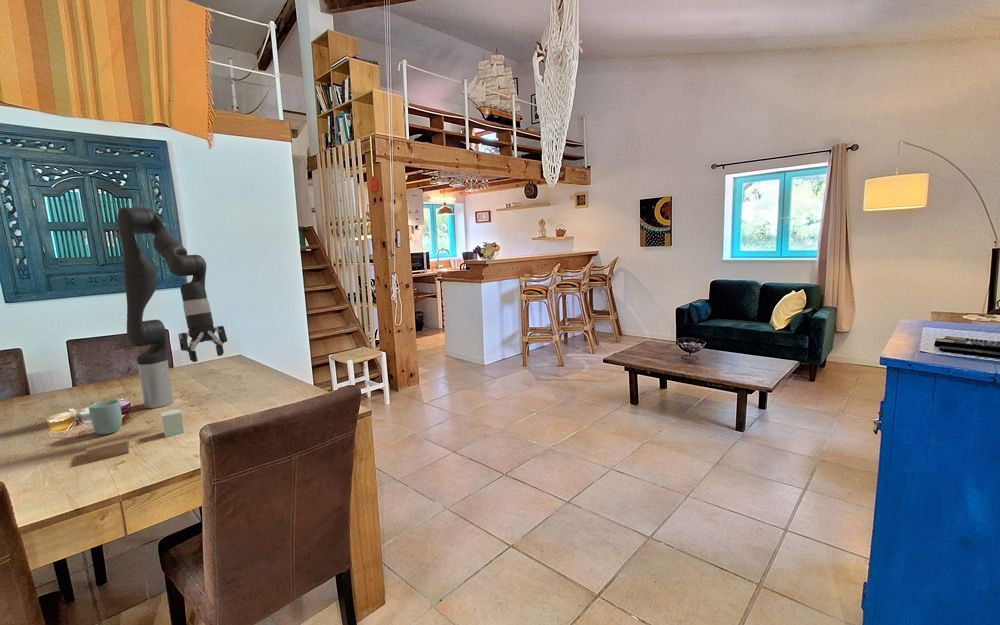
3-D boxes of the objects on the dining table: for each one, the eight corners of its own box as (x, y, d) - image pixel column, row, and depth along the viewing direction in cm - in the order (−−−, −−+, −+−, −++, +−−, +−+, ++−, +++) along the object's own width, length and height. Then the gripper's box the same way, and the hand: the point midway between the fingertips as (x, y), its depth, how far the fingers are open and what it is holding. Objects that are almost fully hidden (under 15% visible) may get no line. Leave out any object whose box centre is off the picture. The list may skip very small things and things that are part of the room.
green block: (164, 432, 149) (161, 412, 148) (182, 428, 152) (179, 408, 151) (165, 437, 145) (161, 416, 144) (183, 432, 149) (180, 412, 147)
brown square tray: (90, 453, 136) (88, 440, 135) (129, 444, 142) (127, 432, 141) (88, 464, 129) (86, 450, 129) (129, 454, 135) (126, 441, 134)
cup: (122, 425, 157) (118, 397, 155) (125, 431, 151) (120, 403, 150) (92, 432, 151) (87, 404, 150) (94, 439, 146) (89, 409, 144)
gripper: (213, 310, 164) (222, 354, 166) (169, 317, 152) (180, 364, 153) (224, 308, 160) (234, 353, 162) (181, 315, 148) (191, 363, 150)
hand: (207, 358), depth 158 cm, fingers open, 8 cm apart
